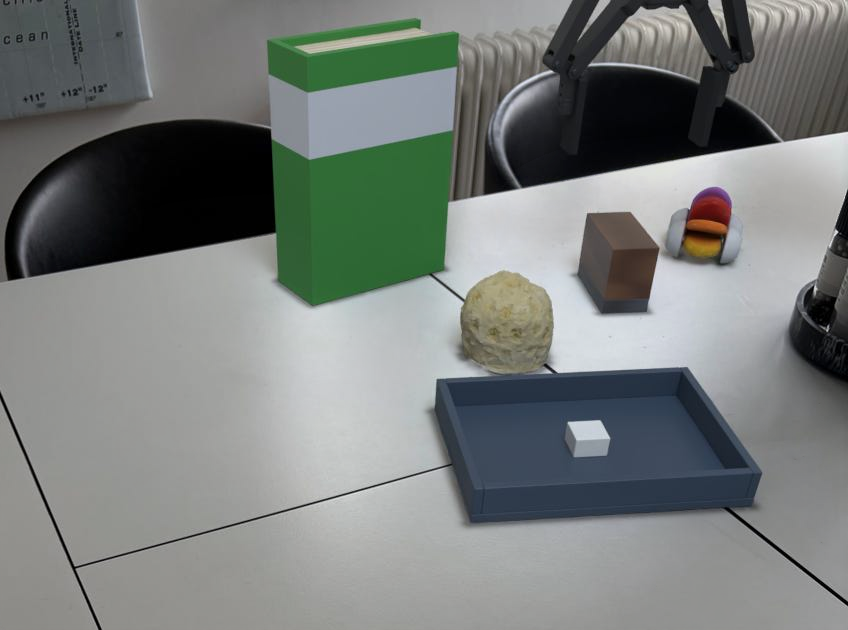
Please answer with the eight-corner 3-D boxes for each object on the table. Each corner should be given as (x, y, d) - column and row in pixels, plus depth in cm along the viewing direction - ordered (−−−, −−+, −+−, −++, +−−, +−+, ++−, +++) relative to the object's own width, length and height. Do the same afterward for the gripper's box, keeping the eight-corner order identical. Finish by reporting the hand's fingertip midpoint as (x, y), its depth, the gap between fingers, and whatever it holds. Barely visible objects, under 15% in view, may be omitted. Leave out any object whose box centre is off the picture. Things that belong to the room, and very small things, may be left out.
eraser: (619, 273, 119) (630, 211, 114) (646, 312, 112) (660, 247, 107) (577, 274, 119) (586, 212, 114) (601, 313, 111) (613, 249, 107)
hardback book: (406, 247, 124) (415, 17, 107) (444, 269, 119) (459, 33, 103) (278, 281, 116) (266, 39, 100) (312, 305, 112) (306, 57, 96)
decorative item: (547, 396, 106) (583, 300, 104) (516, 374, 97) (555, 269, 95) (465, 372, 110) (499, 278, 108) (429, 348, 101) (465, 246, 99)
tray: (679, 398, 98) (687, 366, 96) (752, 506, 86) (763, 472, 83) (434, 410, 96) (436, 378, 94) (470, 523, 83) (474, 489, 81)
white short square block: (597, 437, 92) (600, 419, 90) (607, 456, 89) (610, 438, 88) (564, 439, 91) (567, 421, 90) (573, 458, 89) (576, 439, 88)
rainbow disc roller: (660, 263, 121) (673, 199, 117) (667, 232, 128) (680, 171, 123) (734, 273, 120) (751, 209, 115) (738, 241, 127) (754, 179, 122)
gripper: (791, -128, 93) (732, 127, 107) (525, -124, 88) (500, 141, 103) (837, -116, 87) (768, 151, 102) (556, -111, 83) (525, 166, 97)
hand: (633, 146), depth 102 cm, fingers open, 13 cm apart
